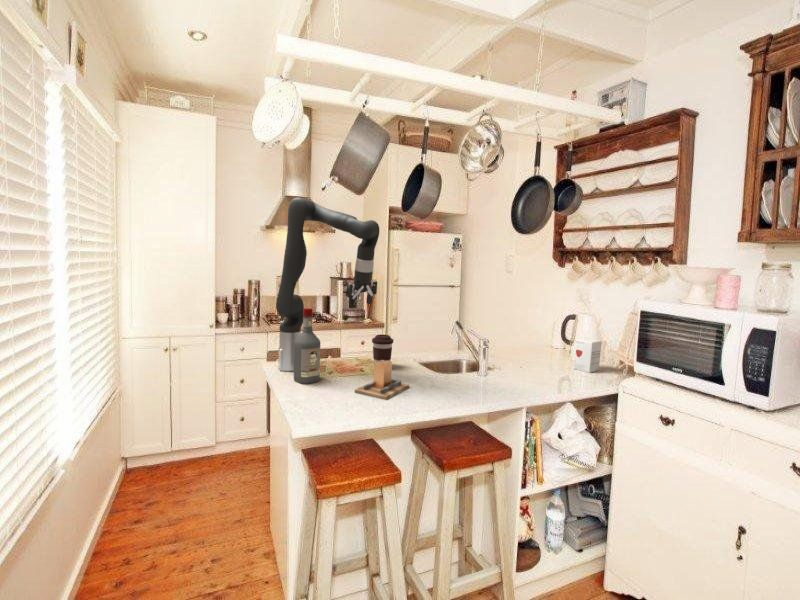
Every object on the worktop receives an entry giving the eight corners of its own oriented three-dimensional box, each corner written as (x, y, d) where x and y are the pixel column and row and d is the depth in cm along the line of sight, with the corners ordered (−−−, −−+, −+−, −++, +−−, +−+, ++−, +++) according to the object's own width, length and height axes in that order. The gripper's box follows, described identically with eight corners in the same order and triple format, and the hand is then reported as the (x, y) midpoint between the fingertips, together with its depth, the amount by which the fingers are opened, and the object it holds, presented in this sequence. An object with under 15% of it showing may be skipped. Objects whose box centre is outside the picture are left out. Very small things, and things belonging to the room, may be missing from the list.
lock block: (383, 390, 171) (384, 364, 170) (373, 388, 173) (374, 363, 172) (391, 386, 176) (392, 361, 175) (381, 384, 178) (382, 359, 177)
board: (385, 399, 164) (386, 392, 163) (354, 392, 170) (354, 385, 170) (409, 387, 179) (409, 381, 179) (379, 381, 186) (379, 374, 186)
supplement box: (572, 368, 219) (574, 338, 217) (582, 366, 224) (584, 337, 222) (589, 373, 211) (592, 342, 210) (599, 370, 217) (602, 340, 215)
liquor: (291, 379, 183) (291, 307, 179) (309, 375, 189) (311, 306, 186) (303, 385, 177) (304, 310, 173) (322, 381, 183) (323, 309, 180)
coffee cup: (372, 363, 212) (373, 333, 211) (392, 365, 212) (394, 334, 210) (370, 369, 203) (371, 337, 201) (391, 370, 202) (392, 338, 200)
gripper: (372, 264, 191) (368, 299, 197) (344, 267, 182) (341, 304, 188) (383, 270, 186) (378, 305, 191) (354, 273, 177) (351, 310, 182)
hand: (360, 305), depth 189 cm, fingers open, 8 cm apart
